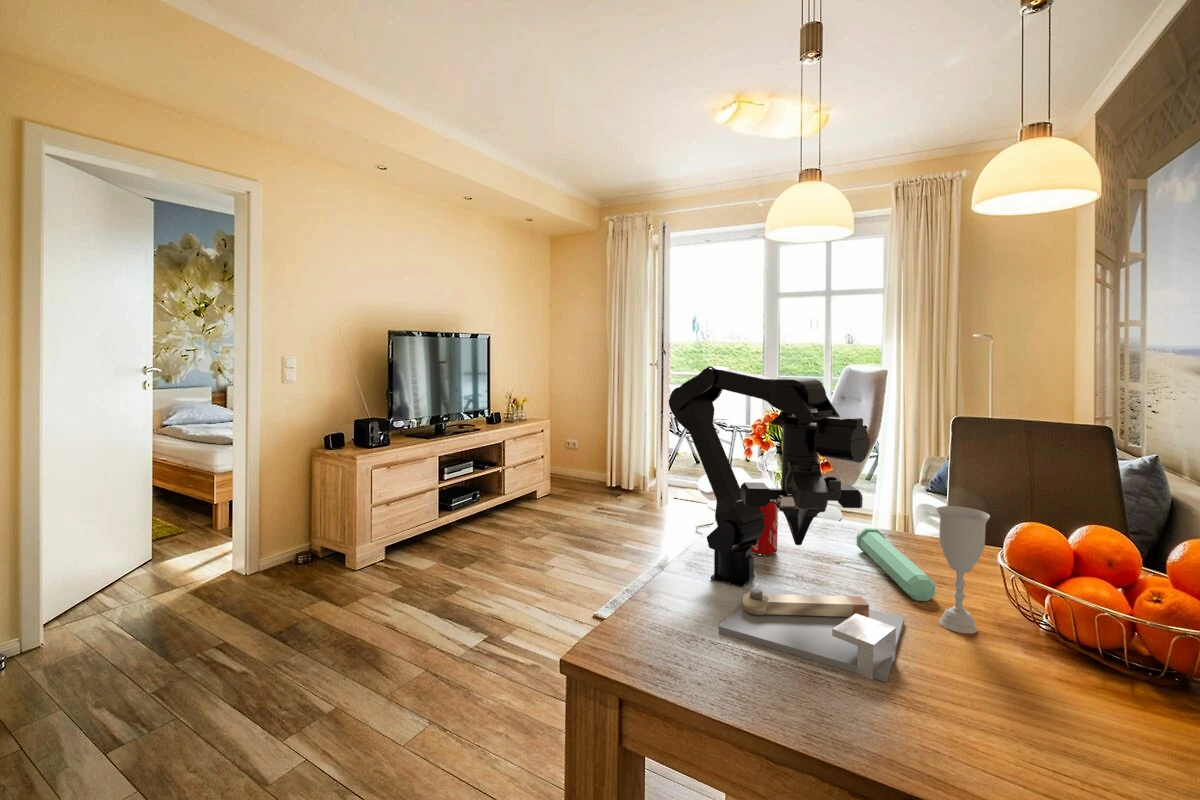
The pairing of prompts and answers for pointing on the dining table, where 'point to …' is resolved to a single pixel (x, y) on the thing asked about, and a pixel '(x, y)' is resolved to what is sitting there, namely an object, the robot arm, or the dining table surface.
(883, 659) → the block
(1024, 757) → the dining table surface
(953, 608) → the chalice
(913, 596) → the green octagonal rod
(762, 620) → the base board
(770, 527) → the soda can
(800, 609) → the latch arm
